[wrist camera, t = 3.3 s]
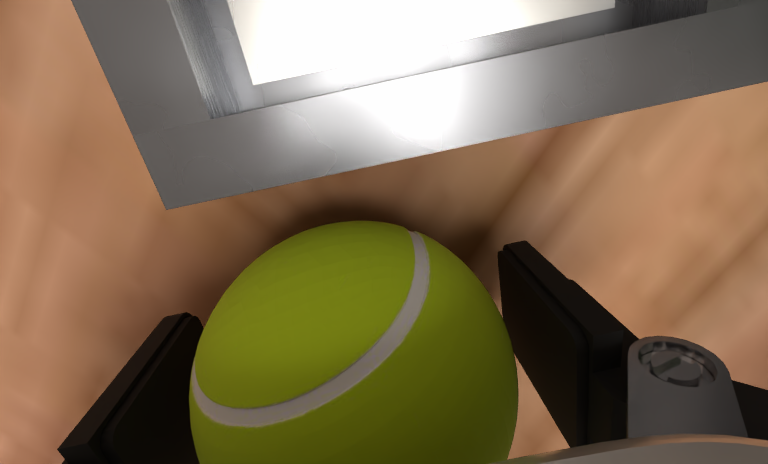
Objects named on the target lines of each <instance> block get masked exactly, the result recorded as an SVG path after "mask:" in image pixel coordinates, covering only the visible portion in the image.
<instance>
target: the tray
mask: <svg viewBox="0 0 768 464" xmlns="http://www.w3.org/2000/svg"><path fill="white" fill-rule="evenodd" d="M71 1H72V3H73V5H74V7H75V10H76V12H77V14H78V16H79V18H80V21H81V23H82V25H83V27H84V30H85V32H86V34H87V36H88V38H89V41H90V43H91V45H92V47H93V49H94V52H95V54H96V56H97V58H98V60H99V63H100V65H101V67H102V69H103V71H104V74H105V76H106V78H107V80H108V82H109V85H110V87H111V89H112V91H113V93H114V96H115V98H116V100H117V102H118V104H119V107H120V109H121V111H122V113H123V115H124V118H125V120H126V122H127V124H128V126H129V129H130V131H131V133H132V135H133V138H134V140H135V142H136V144H137V146H138V149H139V151H140V153H141V155H142V157H143V160H144V162H145V164H146V166H147V168H148V171H149V173H150V175H151V177H152V179H153V182H154V184H155V186H156V188H157V190H158V193H159V195H160V197H161V199H162V201H163V204H164V206H165V208H166V210H168V209H173V208H178V207H182V206H187V205H192V204H196V203H201V202H206V201H210V200H215V199H220V198H225V197H229V196H234V195H239V194H243V193H248V192H253V191H257V190H262V189H267V188H271V187H276V186H281V185H285V184H290V183H295V182H299V181H304V180H309V179H313V178H318V177H323V176H327V175H332V174H337V173H341V172H346V171H351V170H356V169H360V168H365V167H370V166H374V165H379V164H384V163H388V162H393V161H398V160H402V159H407V158H412V157H416V156H421V155H426V154H430V153H435V152H440V151H444V150H449V149H454V148H458V147H463V146H468V145H473V144H477V143H482V142H487V141H491V140H496V139H501V138H505V137H510V136H515V135H519V134H524V133H529V132H533V131H538V130H543V129H547V128H552V127H557V126H561V125H566V124H571V123H575V122H580V121H585V120H590V119H594V118H599V117H604V116H608V115H613V114H618V113H622V112H627V111H632V110H636V109H641V108H646V107H650V106H655V105H660V104H664V103H669V102H674V101H678V100H683V99H688V98H692V97H697V96H702V95H706V94H711V93H716V92H721V91H725V90H730V89H735V88H739V87H744V86H749V85H753V84H758V83H763V82H767V81H768V0H71Z"/></svg>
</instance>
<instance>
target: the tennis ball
mask: <svg viewBox="0 0 768 464" xmlns="http://www.w3.org/2000/svg"><path fill="white" fill-rule="evenodd" d="M189 407H190V423H191V430H192V435H193V441H194V445H195V449H196V453H197V456H198V460H199V463H200V464H489V463H494V462H499V461H504V460H507V458H508V455H509V451H510V448H511V445H512V441H513V437H514V432H515V427H516V421H517V411H518V377H517V368H516V362H515V357H514V352H513V348H512V343H511V340H510V337H509V334H508V331H507V329H506V326H505V323H504V321H503V318H502V316H501V314H500V312H499V310H498V308H497V307H496V305H495V303H494V301H493V299H492V297H491V296H490V294H489V293H488V291H487V290H486V288H485V287H484V285H483V284H482V283H481V281H480V280H479V279H478V278H477V277H476V275H475V274H474V273H473V272H472V271H471V270H470V269H469V267H468V266H467V265H466V264H465V263H464V262H463V261H461V260H460V259H459V258H458V257H457V256H455V255H454V254H453V253H452V252H451V251H450V250H448V249H447V248H445V247H444V246H443V245H441V244H440V243H438V242H436V241H435V240H433V239H432V238H430V237H428V236H426V235H424V234H422V233H419V232H417V231H413V232H410V231H408V230H407V229H406V228H405V227H403V226H399V225H395V224H391V223H385V222H376V221H345V222H337V223H331V224H326V225H322V226H318V227H315V228H312V229H309V230H306V231H303V232H300V233H298V234H296V235H294V236H292V237H290V238H287V239H286V240H284V241H282V242H280V243H279V244H277V245H275V246H273V247H272V248H270V249H269V250H267V251H266V252H265V253H263V254H262V255H260V256H259V257H258V258H257V259H256V260H255V261H253V262H252V263H251V264H250V265H249V266H248V267H247V268H245V269H244V270H243V271H242V272H241V274H240V275H239V276H238V277H237V278H236V279H235V280H234V281H233V283H232V284H231V285H230V286H229V287H228V289H227V290H226V291H225V293H224V294H223V296H222V297H221V299H220V300H219V302H218V303H217V305H216V307H215V308H214V310H213V311H212V313H211V315H210V317H209V319H208V321H207V323H206V325H205V327H204V329H203V332H202V335H201V337H200V340H199V343H198V346H197V350H196V355H195V358H194V361H193V366H192V371H191V379H190V391H189Z"/></svg>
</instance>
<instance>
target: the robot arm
mask: <svg viewBox="0 0 768 464" xmlns="http://www.w3.org/2000/svg"><path fill="white" fill-rule="evenodd" d="M498 267H499V279H500V290H501V302H502V313H503V321H504V323H505V326H506V329H507V331H508V334H509V337H510V340H511V343H512V348H513V352H514V354H515V355H516V357H517V359H518V360H519V362H520V364H521V365H522V367H523V369H524V371H525V372H526V374H527V376H528V377H529V379H530V381H531V382H532V384H533V386H534V387H535V389H536V391H537V392H538V394H539V396H540V398H541V399H542V401H543V403H544V404H545V406H546V408H547V409H548V411H549V413H550V414H551V416H552V418H553V419H554V421H555V423H556V425H557V426H558V428H559V430H560V431H561V433H562V435H563V436H564V438H565V440H566V441H567V443H568V445H569V446H570V448H568V449H562V450H557V451H551V452H546V453H541V454H535V455H530V456H524V457H519V458H514V459H509V460H504V461H499V462H494V463H489V464H768V390H765V389H762V388H758V387H754V386H751V385H747V384H744V383H740V382H737V381H733V380H731V377H730V374H729V371H728V369H727V368H726V366H725V364H724V363H723V362H722V361H721V360H720V359H719V358H718V357H717V356H716V355H715V354H714V353H712V352H710V351H709V350H707V349H705V348H704V347H702V346H700V345H697V344H695V343H692V342H690V341H687V340H683V339H679V338H674V337H667V336H652V337H645V338H642V339H638V338H637V337H636V336H635V335H634V334H633V333H632V332H630V331H629V330H628V329H627V328H626V327H625V326H624V325H623V324H622V323H620V322H619V321H618V320H617V319H616V318H615V317H614V316H613V315H612V314H610V313H609V312H608V311H607V310H606V309H605V308H604V307H603V306H602V305H600V304H599V303H598V302H597V301H596V300H595V299H594V298H593V297H592V296H590V295H589V294H588V293H587V292H586V291H585V290H584V289H583V288H582V287H580V286H579V285H578V284H577V283H576V282H574V281H573V280H569V279H567V278H566V277H565V276H564V275H563V274H562V273H561V272H560V271H559V270H558V269H556V268H555V267H554V266H553V265H552V264H551V263H550V262H549V261H548V260H547V259H546V258H544V257H543V256H542V255H541V254H540V253H539V252H538V251H537V250H536V249H535V248H534V247H532V246H531V245H530V244H529V243H528V242H527V241H520V242H516V243H511V244H506V245H504V248H503V251H499V252H498ZM203 329H204V328H203V326H202V324H201V322H200V320H199V318H198V317H196V316H192V315H191V314H190V313H187V312H186V313H181V314H177V315H172V316H167V317H165V318H163V319H162V321H161V322H160V323H159V324H158V325H157V327H156V328H155V329H154V330H153V332H152V333H151V334H150V335H149V337H148V338H147V339H146V340H145V342H144V343H143V344H142V345H141V346H140V348H139V349H138V350H137V351H136V353H135V354H134V355H133V356H132V358H131V359H130V360H129V361H128V363H127V364H126V365H125V366H124V368H123V369H122V370H121V371H120V372H119V374H118V375H117V376H116V377H115V379H114V380H113V381H112V382H111V384H110V385H109V386H108V387H107V389H106V390H105V391H104V392H103V393H102V395H101V396H100V397H99V398H98V400H97V401H96V402H95V403H94V405H93V406H92V407H91V408H90V410H89V411H88V412H87V413H86V414H85V416H84V417H83V418H82V419H81V421H80V422H79V423H78V424H77V426H76V427H75V428H74V429H73V431H72V432H71V433H70V434H69V436H68V437H67V438H66V439H65V440H64V442H63V443H62V444H61V445H60V447H59V448H58V449H57V450H58V451H59V452H60V454H61V455H62V456H63V457H64V459H65V460H64V462H63V463H62V464H200V463H199V460H198V456H197V453H196V449H195V445H194V441H193V435H192V430H191V423H190V407H189V391H190V379H191V371H192V366H193V361H194V358H195V355H196V350H197V346H198V343H199V340H200V337H201V335H202V332H203Z"/></svg>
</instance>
